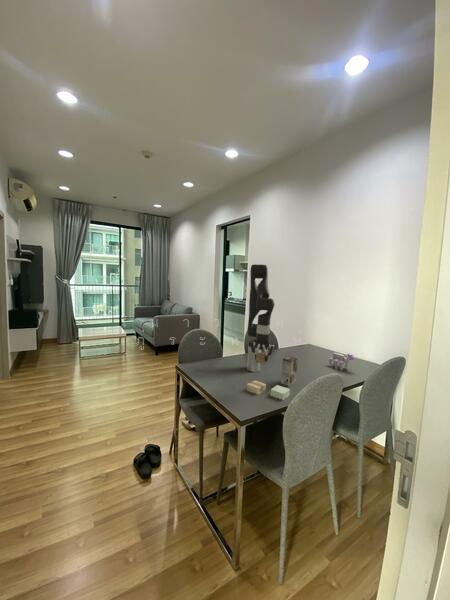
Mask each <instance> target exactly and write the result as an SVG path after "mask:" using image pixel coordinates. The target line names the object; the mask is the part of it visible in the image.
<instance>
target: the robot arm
mask: <svg viewBox="0 0 450 600" xmlns="http://www.w3.org/2000/svg"><path fill="white" fill-rule="evenodd" d="M249 274H250V283H249V284H250V287H249V288H250V290H249V301H248V306H249V309H248V322H247V330H246V331H247V336H248V337H251V338H255V339H253V340H250V341H249V342H248V347H247V349H248V350H247V362H246V363H247V365H246V369H247V371H248V372H252V373H257V372H259V371H261V363H257V362H256V354H257V353H258V352H262V351H263V353H265V355H266V356H265V362H266V363H267V362H268V361H269V356H272V354H273V350H274V347H275V345H274V344H270V333H271V326H270V325H271V317H272V314H273V311H274V308H275V304H276V303H275V300H274V299H273V298H270V289H269V271H268V266H267V265H266V264H251V266H250V273H249ZM256 279H261V280H260V282H259V283H258V285H257V282H256ZM261 311H266V312H265V313H261V314H259V313H260V312H261ZM257 315H258V316H257ZM256 317H257V323H254V320H255V318H256ZM268 348H269V349H268Z"/></svg>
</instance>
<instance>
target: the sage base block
mask: <svg viewBox="0 0 450 600" xmlns="http://www.w3.org/2000/svg"><path fill="white" fill-rule="evenodd" d="M289 395H291V389H290V388H287V387H284V386H281V385H278V384H276V385H275V386H274V387H273V388H271V389H270V396H271V397H274V398H275V399H278V398H279V399H278V400H281V399H282V400H281V401H284V400H285V398H286V399H287V398H288V397H290V396H289Z"/></svg>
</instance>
